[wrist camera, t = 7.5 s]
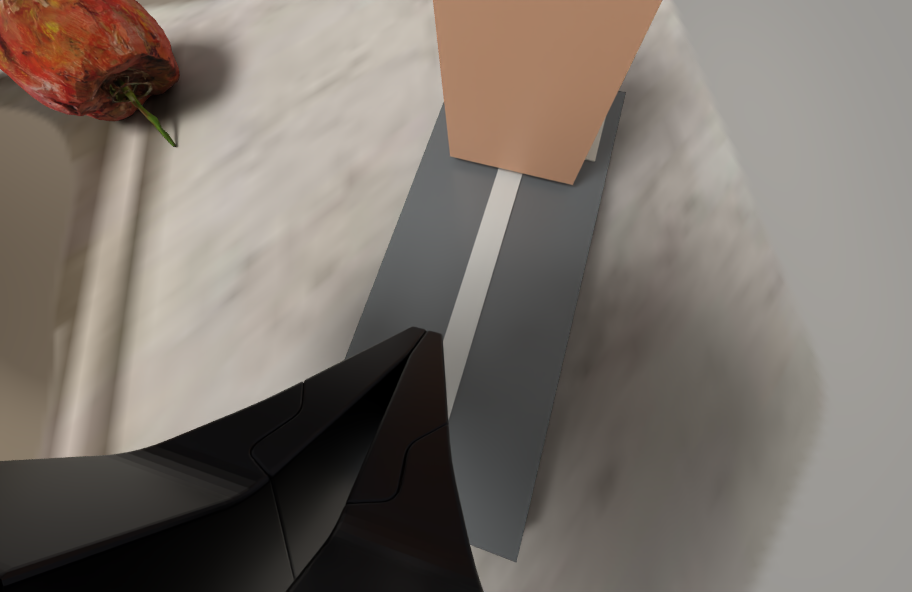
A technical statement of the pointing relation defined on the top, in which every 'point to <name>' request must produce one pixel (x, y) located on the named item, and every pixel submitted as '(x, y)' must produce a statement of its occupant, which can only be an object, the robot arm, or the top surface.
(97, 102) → the pomegranate
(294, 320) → the top surface
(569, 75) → the fader knob
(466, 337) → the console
